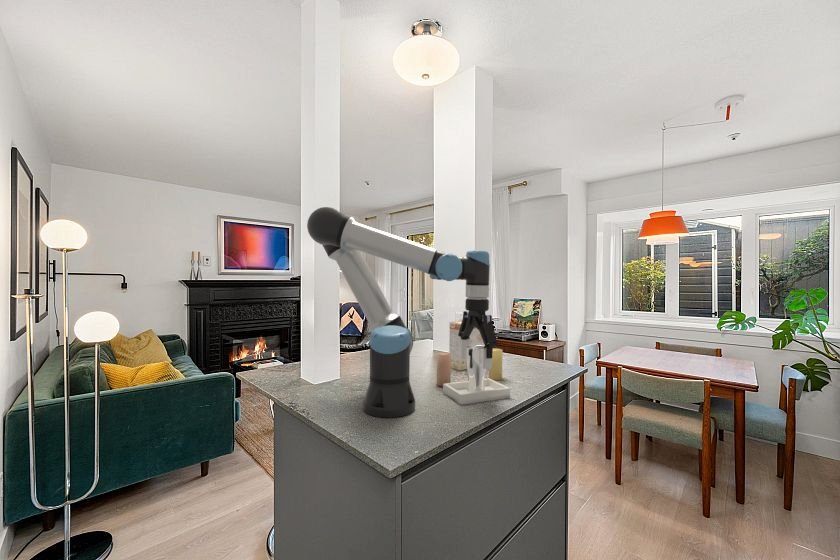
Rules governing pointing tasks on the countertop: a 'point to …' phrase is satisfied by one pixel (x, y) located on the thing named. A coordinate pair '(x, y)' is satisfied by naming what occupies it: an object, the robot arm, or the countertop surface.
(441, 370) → the terracotta canister
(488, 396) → the tray
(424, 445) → the countertop surface
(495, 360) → the mustard canister
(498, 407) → the countertop surface
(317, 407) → the countertop surface
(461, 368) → the coffeecake box
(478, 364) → the beer glass
